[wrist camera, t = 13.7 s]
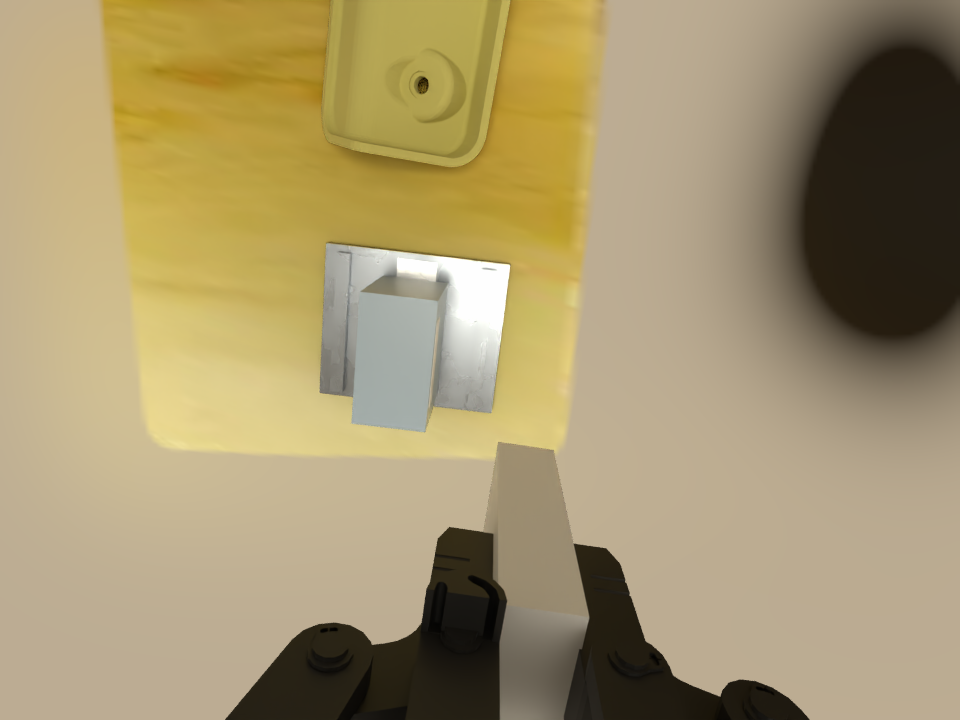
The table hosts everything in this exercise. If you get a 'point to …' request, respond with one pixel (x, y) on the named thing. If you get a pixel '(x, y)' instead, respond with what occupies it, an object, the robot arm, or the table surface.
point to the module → (398, 352)
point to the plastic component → (412, 77)
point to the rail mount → (466, 324)
